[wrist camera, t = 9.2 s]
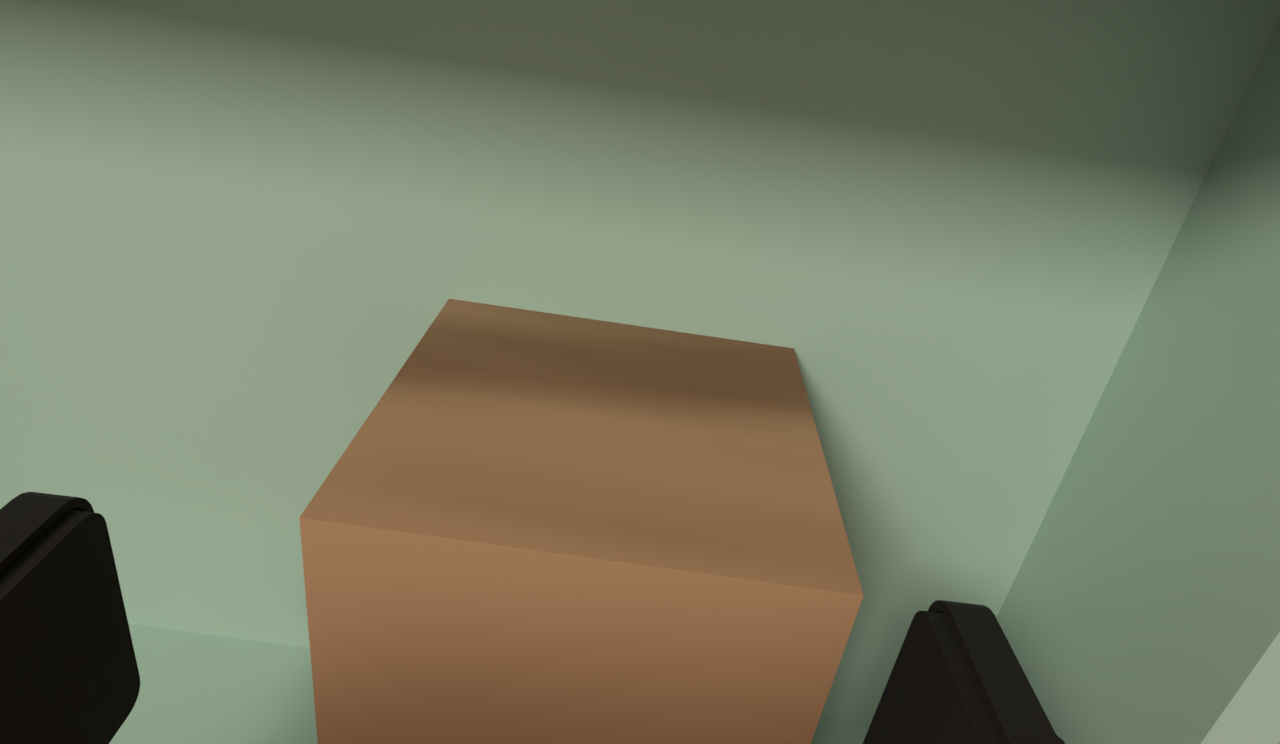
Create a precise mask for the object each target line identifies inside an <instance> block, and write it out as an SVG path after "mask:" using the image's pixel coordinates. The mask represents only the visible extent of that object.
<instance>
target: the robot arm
mask: <svg viewBox="0 0 1280 744" xmlns="http://www.w3.org/2000/svg"><path fill="white" fill-rule="evenodd" d="M139 689H140V675H139V671H138V666H137V662H136V657H135V652H134V648H133V643H132V639H131V634H130V629H129V625H128V620H127V616H126V611H125V606H124V602H123V597H122V593H121V588H120V583H119V579H118V574H117V570H116V565H115V560H114V556H113V551H112V547H111V542H110V537H109V533H108V528H107V524H106V521H105V518H104V517H103V516H102V515H101V514H99V513H94V510H93V508H92V505H91V504H90V503H89V502H88V501H87V500H86V499H83V498H79V497H71V496H63V495H55V494H46V493H38V492H26V493H21V494H20V495H18V496H17V497H15V498H13V499H12V500H11V501H10V502H8V503H7V504H6V505H5V506H4V507H2V508H1V509H0V744H109V743H110V742H111V740H112V739H113V737H114V736H115V734H116V733H117V731H118V730H119V729H120V727H121V726H122V724H123V723H124V721H125V720H126V719H127V717H128V716H129V714H130V712H131V711H132V709H133V707H134V705H135V703H136V700H137V697H138V694H139ZM863 744H1065V743H1064V741H1063V740H1062V739H1061V738H1060V737H1058V736H1057V735H1056V733H1055V731H1054V729H1053V727H1052V725H1051V723H1050V722H1049V720H1048V718H1047V716H1046V714H1045V712H1044V710H1043V708H1042V706H1041V704H1040V702H1039V700H1038V698H1037V696H1036V694H1035V692H1034V690H1033V688H1032V687H1031V685H1030V683H1029V681H1028V679H1027V677H1026V675H1025V673H1024V671H1023V669H1022V667H1021V665H1020V663H1019V661H1018V659H1017V657H1016V655H1015V654H1014V652H1013V650H1012V648H1011V646H1010V644H1009V642H1008V640H1007V638H1006V636H1005V634H1004V632H1003V630H1002V628H1001V626H1000V624H999V622H998V621H997V619H996V617H995V615H994V614H993V612H992V611H991V609H990V608H988V607H986V606H985V605H977V604H969V603H960V602H952V601H943V600H936V601H935V602H933V603H932V604H931V606H930V607H929V609H928V611H918V612H917V613H916V614H915V616H914V617H913V619H912V622H911V624H910V627H909V629H908V632H907V634H906V637H905V639H904V642H903V644H902V647H901V649H900V652H899V654H898V657H897V659H896V662H895V664H894V667H893V669H892V672H891V674H890V677H889V679H888V682H887V684H886V687H885V689H884V692H883V694H882V697H881V699H880V702H879V704H878V707H877V709H876V712H875V714H874V717H873V719H872V722H871V724H870V727H869V729H868V732H867V734H866V737H865V739H864V742H863Z"/></svg>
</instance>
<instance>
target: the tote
mask: <svg viewBox="0 0 1280 744" xmlns="http://www.w3.org/2000/svg"><path fill="white" fill-rule="evenodd" d="M448 299H455V300H462V301H469V302H476V303H483V304H490V305H497V306H504V307H511V308H518V309H524V310H531V311H538V312H545V313H552V314H559V315H566V316H573V317H580V318H587V319H594V320H601V321H608V322H614V323H621V324H628V325H635V326H642V327H649V328H656V329H663V330H670V331H677V332H684V333H691V334H698V335H705V336H711V337H718V338H725V339H732V340H739V341H746V342H753V343H760V344H767V345H774V346H781V347H788V348H794V350H795V354H796V357H797V361H798V364H799V368H800V371H801V375H802V379H803V382H804V386H805V389H806V393H807V396H808V400H809V403H810V407H811V410H812V414H813V418H814V421H815V425H816V428H817V432H818V435H819V439H820V442H821V446H822V450H823V453H824V457H825V460H826V464H827V467H828V471H829V474H830V478H831V481H832V485H833V489H834V492H835V496H836V499H837V503H838V506H839V510H840V513H841V517H842V521H843V524H844V528H845V531H846V535H847V538H848V542H849V545H850V549H851V552H852V556H853V560H854V563H855V567H856V570H857V574H858V577H859V581H860V584H861V588H862V592H863V595H864V596H863V599H862V602H861V604H860V607H859V610H858V613H857V616H856V618H855V621H854V624H853V627H852V630H851V632H850V635H849V638H848V641H847V644H846V646H845V649H844V652H843V655H842V658H841V660H840V663H839V666H838V669H837V672H836V674H835V677H834V680H833V683H832V686H831V688H830V691H829V694H828V697H827V700H826V702H825V705H824V708H823V711H822V714H821V716H820V719H819V722H818V725H817V728H816V730H815V733H814V736H813V739H812V742H811V744H863V742H864V739H865V737H866V734H867V732H868V729H869V727H870V724H871V722H872V719H873V717H874V714H875V712H876V709H877V707H878V704H879V702H880V699H881V697H882V694H883V692H884V689H885V687H886V684H887V682H888V679H889V677H890V674H891V672H892V669H893V667H894V664H895V662H896V659H897V657H898V654H899V652H900V649H901V647H902V644H903V642H904V639H905V637H906V634H907V632H908V629H909V627H910V624H911V622H912V619H913V617H914V616H915V614H916V613H917V612H918V611H928V609H929V607H930V606H931V604H932V603H933V602H935V601H936V600H943V601H952V602H960V603H969V604H977V605H985V606H986V607H988V608H990V609H991V611H992V612H993V614H994V615H995V617H996V619H997V621H998V622H999V624H1000V626H1001V628H1002V630H1003V632H1004V634H1005V636H1006V638H1007V640H1008V642H1009V644H1010V646H1011V648H1012V650H1013V652H1014V654H1015V655H1016V657H1017V659H1018V661H1019V663H1020V665H1021V667H1022V669H1023V671H1024V673H1025V675H1026V677H1027V679H1028V681H1029V683H1030V685H1031V687H1032V688H1033V690H1034V692H1035V694H1036V696H1037V698H1038V700H1039V702H1040V704H1041V706H1042V708H1043V710H1044V712H1045V714H1046V716H1047V718H1048V720H1049V722H1050V723H1051V725H1052V727H1053V729H1054V731H1055V733H1056V735H1057V736H1058V737H1060V738H1061V739H1062V740H1063V741H1064V743H1065V744H1278V743H1279V742H1280V0H0V509H1V508H2V507H4V506H5V505H6V504H7V503H8V502H10V501H11V500H12V499H13V498H15V497H17V496H18V495H20V494H21V493H26V492H38V493H46V494H55V495H63V496H71V497H79V498H83V499H86V500H87V501H88V502H89V503H90V504H91V505H92V508H93V510H94V513H99V514H101V515H102V516H103V517H104V518H105V521H106V524H107V528H108V533H109V537H110V542H111V547H112V551H113V556H114V560H115V565H116V570H117V574H118V579H119V583H120V588H121V593H122V597H123V602H124V606H125V611H126V616H127V620H128V625H129V629H130V634H131V639H132V643H133V648H134V652H135V657H136V662H137V666H138V671H139V675H140V689H139V694H138V697H137V700H136V703H135V705H134V707H133V709H132V711H131V712H130V714H129V716H128V717H127V719H126V720H125V721H124V723H123V724H122V726H121V727H120V729H119V730H118V731H117V733H116V734H115V736H114V737H113V739H112V740H111V742H110V743H109V744H318V740H317V728H316V716H315V703H314V691H313V679H312V667H311V655H310V642H309V630H308V618H307V606H306V593H305V581H304V569H303V557H302V545H301V532H300V520H299V517H300V516H301V514H302V513H303V511H304V510H305V509H306V507H307V506H308V504H309V503H310V501H311V500H312V498H313V497H314V495H315V494H316V492H317V491H318V489H319V488H320V487H321V485H322V484H323V482H324V481H325V479H326V478H327V476H328V475H329V473H330V472H331V470H332V469H333V468H334V466H335V465H336V463H337V462H338V460H339V459H340V457H341V456H342V454H343V453H344V451H345V450H346V448H347V447H348V446H349V444H350V443H351V441H352V440H353V438H354V437H355V435H356V434H357V432H358V431H359V429H360V428H361V427H362V425H363V424H364V422H365V421H366V419H367V418H368V416H369V415H370V413H371V412H372V410H373V409H374V407H375V406H376V405H377V403H378V402H379V400H380V399H381V397H382V396H383V394H384V393H385V391H386V390H387V388H388V387H389V386H390V384H391V383H392V381H393V380H394V378H395V377H396V375H397V374H398V372H399V371H400V369H401V368H402V366H403V365H404V364H405V362H406V361H407V359H408V358H409V356H410V355H411V353H412V352H413V350H414V349H415V347H416V346H417V345H418V343H419V342H420V340H421V339H422V337H423V336H424V334H425V333H426V331H427V330H428V328H429V327H430V325H431V324H432V323H433V321H434V320H435V318H436V317H437V315H438V314H439V312H440V311H441V309H442V308H443V306H444V305H445V303H446V302H447V301H448Z"/></svg>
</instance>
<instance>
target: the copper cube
mask: <svg viewBox="0 0 1280 744" xmlns="http://www.w3.org/2000/svg"><path fill="white" fill-rule="evenodd" d="M299 520H300V532H301V545H302V557H303V569H304V581H305V593H306V606H307V618H308V630H309V642H310V655H311V667H312V679H313V691H314V703H315V716H316V728H317V740H318V744H811V742H812V739H813V736H814V733H815V730H816V728H817V725H818V722H819V719H820V716H821V714H822V711H823V708H824V705H825V702H826V700H827V697H828V694H829V691H830V688H831V686H832V683H833V680H834V677H835V674H836V672H837V669H838V666H839V663H840V660H841V658H842V655H843V652H844V649H845V646H846V644H847V641H848V638H849V635H850V632H851V630H852V627H853V624H854V621H855V618H856V616H857V613H858V610H859V607H860V604H861V602H862V599H863V596H864V595H863V592H862V588H861V584H860V581H859V577H858V574H857V570H856V567H855V563H854V560H853V556H852V552H851V549H850V545H849V542H848V538H847V535H846V531H845V528H844V524H843V521H842V517H841V513H840V510H839V506H838V503H837V499H836V496H835V492H834V489H833V485H832V481H831V478H830V474H829V471H828V467H827V464H826V460H825V457H824V453H823V450H822V446H821V442H820V439H819V435H818V432H817V428H816V425H815V421H814V418H813V414H812V410H811V407H810V403H809V400H808V396H807V393H806V389H805V386H804V382H803V379H802V375H801V371H800V368H799V364H798V361H797V357H796V354H795V350H794V348H788V347H781V346H774V345H767V344H760V343H753V342H746V341H739V340H732V339H725V338H718V337H711V336H705V335H698V334H691V333H684V332H677V331H670V330H663V329H656V328H649V327H642V326H635V325H628V324H621V323H614V322H608V321H601V320H594V319H587V318H580V317H573V316H566V315H559V314H552V313H545V312H538V311H531V310H524V309H518V308H511V307H504V306H497V305H490V304H483V303H476V302H469V301H462V300H455V299H448V301H447V302H446V303H445V305H444V306H443V308H442V309H441V311H440V312H439V314H438V315H437V317H436V318H435V320H434V321H433V323H432V324H431V325H430V327H429V328H428V330H427V331H426V333H425V334H424V336H423V337H422V339H421V340H420V342H419V343H418V345H417V346H416V347H415V349H414V350H413V352H412V353H411V355H410V356H409V358H408V359H407V361H406V362H405V364H404V365H403V366H402V368H401V369H400V371H399V372H398V374H397V375H396V377H395V378H394V380H393V381H392V383H391V384H390V386H389V387H388V388H387V390H386V391H385V393H384V394H383V396H382V397H381V399H380V400H379V402H378V403H377V405H376V406H375V407H374V409H373V410H372V412H371V413H370V415H369V416H368V418H367V419H366V421H365V422H364V424H363V425H362V427H361V428H360V429H359V431H358V432H357V434H356V435H355V437H354V438H353V440H352V441H351V443H350V444H349V446H348V447H347V448H346V450H345V451H344V453H343V454H342V456H341V457H340V459H339V460H338V462H337V463H336V465H335V466H334V468H333V469H332V470H331V472H330V473H329V475H328V476H327V478H326V479H325V481H324V482H323V484H322V485H321V487H320V488H319V489H318V491H317V492H316V494H315V495H314V497H313V498H312V500H311V501H310V503H309V504H308V506H307V507H306V509H305V510H304V511H303V513H302V514H301V516H300V517H299Z"/></svg>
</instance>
